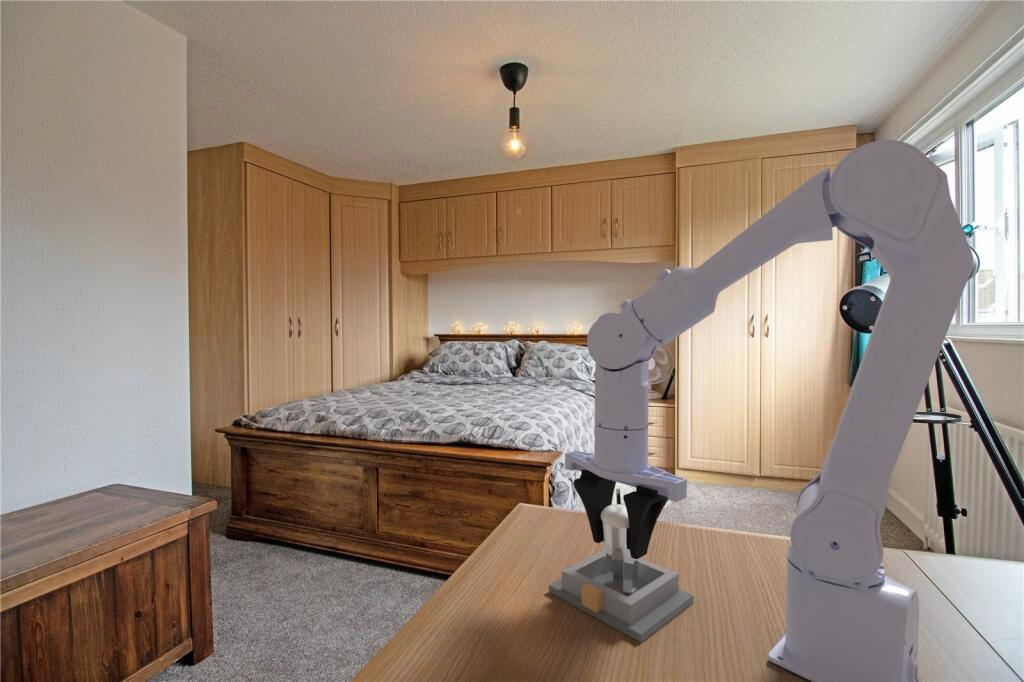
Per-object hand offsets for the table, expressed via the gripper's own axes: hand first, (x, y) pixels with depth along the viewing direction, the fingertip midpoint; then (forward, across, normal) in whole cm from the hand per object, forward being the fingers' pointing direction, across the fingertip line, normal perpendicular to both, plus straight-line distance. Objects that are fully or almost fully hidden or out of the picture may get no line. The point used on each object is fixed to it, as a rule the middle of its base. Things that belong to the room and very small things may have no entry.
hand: (619, 547), depth 55 cm
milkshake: (+5, 0, -1) cm, 5 cm away
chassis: (+6, 0, 0) cm, 6 cm away
